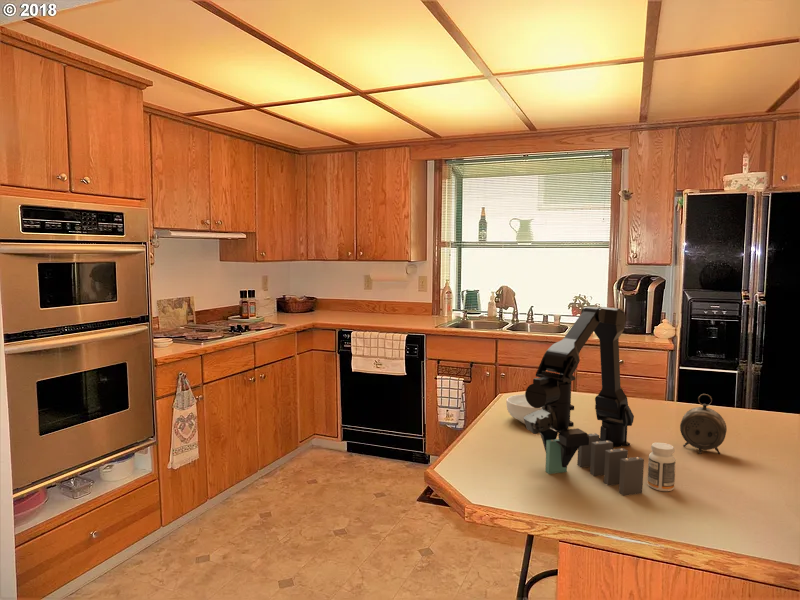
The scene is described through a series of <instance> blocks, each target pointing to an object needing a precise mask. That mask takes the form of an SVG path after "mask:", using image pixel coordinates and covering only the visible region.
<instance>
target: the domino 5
mask: <svg viewBox="0 0 800 600" xmlns="http://www.w3.org/2000/svg"><path fill="white" fill-rule="evenodd" d="M644 466H645V459H644V458H642V457H640V456H634V457H633V456H632V457H628V458H624V459H620V479H619V484H618V494H620V495H621V496H623V497H624V496H626V497H627V496H632V495H633V496H634V495H640V494H641V495H642V494H643V487H644V486H643V484H644Z"/></svg>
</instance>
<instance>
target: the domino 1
mask: <svg viewBox="0 0 800 600" xmlns="http://www.w3.org/2000/svg"><path fill="white" fill-rule="evenodd" d="M556 441H559V438H556V439H554V440H546V452H545V472H546V474H548V475H551V474H559V473H560V474H561V473H567V472H568V466H567V467H564V468H563V467H562V462H561V448H560V446H559V445H558V444H557V443H556Z"/></svg>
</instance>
